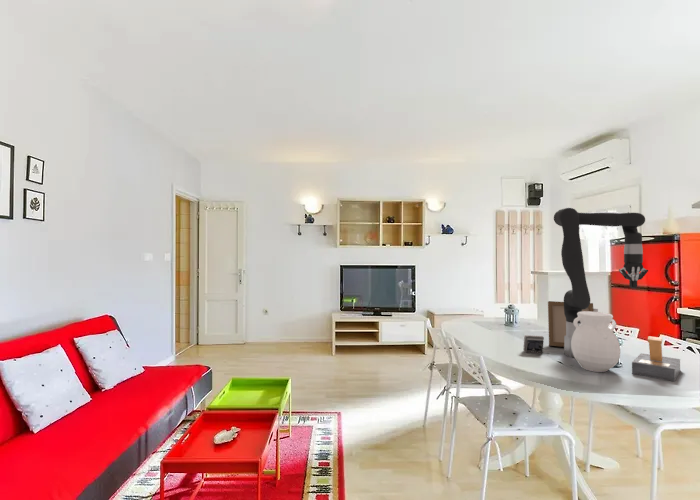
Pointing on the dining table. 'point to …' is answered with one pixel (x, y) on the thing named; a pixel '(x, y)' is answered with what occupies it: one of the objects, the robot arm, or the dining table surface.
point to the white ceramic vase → (595, 341)
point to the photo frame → (558, 322)
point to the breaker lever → (655, 348)
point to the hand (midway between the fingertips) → (633, 288)
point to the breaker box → (656, 367)
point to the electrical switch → (533, 344)
